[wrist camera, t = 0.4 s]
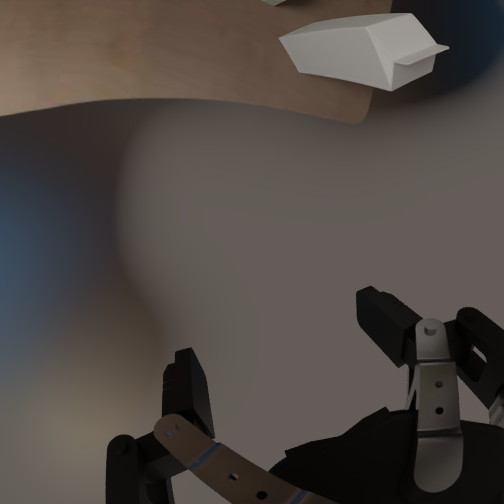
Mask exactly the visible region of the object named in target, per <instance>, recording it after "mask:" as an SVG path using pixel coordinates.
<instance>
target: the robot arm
mask: <svg viewBox="0 0 504 504" xmlns="http://www.w3.org/2000/svg"><path fill="white" fill-rule="evenodd" d="M356 307H357V320H358V323H359V325H360V327H361V328H362V329H363V330H364V331H365V333H366V334H367V335H368V336H369V337H370V338H371V339H372V340H373V341H374V342H375V343H376V344H377V345H378V347H380V349H381V350H382V351H383V352H384V353H385V354H386V355H387V356H388V357H389V358H390V360H391V361H392V362H393V363H394V364H395V365H396V366H397V367H398V368H399V367H401V366H402V365H404V364H407V365H408V366H409V367H408V378H407V395H406V405H405V409H404V410H396V411H391V412H389V410H388V409H387V408H386V407H384V408H382V409H380V410H378V411H377V412H375V413H373V414H371V415H369V416H367V417H365V418H363V419H362V420H361V421H359V422H358V423H357V424H356V425H354V426H353V427H352V428H350V429H349V430H348V431H347V432H345V433H344V434H343V435H341V436H338V437H333V438H327V439H322V440H317V441H311V442H308V443H305V444H303V445H300V446H298V447H294V448H291V449H289V450H285V454H286V458H284V459H282V460H281V461H279V462H278V463H277V464H275V465H274V466H273V467H272V468H271V469H270V470H269V471H268V472H267V471H265V470H264V469H262V468H260V467H258V466H257V465H255V464H253V463H252V462H250V461H249V460H247V459H245V458H244V457H242V456H241V455H239V454H238V453H236V452H234V451H233V450H231V449H230V448H228V447H227V446H225V445H224V444H222V443H216V442H215V441H213V440H212V439H214V438H215V433H214V427H213V421H212V414H211V407H210V401H209V394H208V386H207V380H206V376H205V373H204V371H203V369H202V367H201V365H200V363H199V361H198V359H197V357H196V355H195V353H194V351H193V349H192V348H191V347H190V348H186V349H183V350H179V351H176V352H175V363H172V364H168V366H167V367H166V369H165V371H164V374H163V394H162V418H160V419H159V420H158V421H157V423H156V424H155V426H154V430H153V431H152V432H151V433H149V434H146V435H144V436H142V437H140V438H138V439H134V438H133V437H132V436H130V435H119V436H116V437H115V438H113V439H112V440H111V442H110V443H109V445H108V447H107V460H106V504H175V502H174V497H173V490H172V483H171V477H172V476H174V475H176V474H179V473H181V472H183V471H186V470H188V469H189V470H190V471H191V472H192V473H193V474H194V475H196V476H197V477H198V478H199V479H200V480H202V481H203V482H204V483H205V484H206V485H208V486H209V487H210V488H212V489H213V490H214V491H215V492H217V493H218V494H219V495H221V496H222V497H224V498H225V499H226V500H228V501H229V502H230V503H232V504H504V330H503V329H502V328H501V327H499V326H498V325H497V324H496V323H494V322H493V321H492V320H491V319H489V318H488V317H487V316H485V315H484V314H483V313H481V312H480V311H479V310H477V309H475V308H472V307H465V308H462V309H460V310H459V311H458V313H457V317H456V319H455V320H452V321H449V322H445V323H442V322H441V321H439V320H437V319H434V318H426V319H423V318H422V317H420V316H419V315H418V314H416V313H415V312H414V311H412V310H411V309H410V308H409V307H408V306H406V305H404V303H402V302H401V301H399V300H398V299H397V298H396V297H395V296H393V295H392V294H389V293H386V292H379V291H378V290H376V289H375V288H374V287H372V286H369V287H366V288H364V289H362V290H359V291H357V293H356ZM474 346H475V347H476V348H477V349H478V350H479V351H480V352H482V353H483V354H484V356H485V357H486V361H487V363H486V362H485V361H484V360H483V359H482V358H481V357H479V356H478V354H476V353H475V352H474V351H473V348H474ZM457 375H458V376H459V377H460V379H461V380H463V382H464V383H465V384H466V385H467V386H468V387H469V388H470V390H472V392H473V393H474V394H475V395H476V396H477V397H478V399H480V401H481V402H482V403H483V404H484V405H485V407H486V408H487V409H488V410H489V418H490V422H489V424H484V423H477V422H470V421H465V420H460V409H459V393H458V382H457Z"/></svg>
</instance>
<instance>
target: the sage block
mask: <svg viewBox="0 0 504 504" xmlns="http://www.w3.org/2000/svg"><path fill="white" fill-rule="evenodd" d="M262 1H264V2H266V3H268V4H270V5H272V6H275V5H277V4H279V3H281V2H283V1H285V0H262Z"/></svg>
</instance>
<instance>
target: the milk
mask: <svg viewBox="0 0 504 504" xmlns="http://www.w3.org/2000/svg"><path fill="white" fill-rule="evenodd" d="M279 40H280V41H281V43H282V45H283V46H284V48H285V49H286V51H287V53H288V54H289V56H290V58H291V59H292V61H293V63H294V64H295V66H296V68H297V70H298V71H299V73H306V74H313V75H320V76H326V77H331V78H337V79H342V80H347V81H352V82H356V83H361V84H365V85H369V86H373V87H377V88H380V89H384V90H388V91H393V90H395V89H397V88H399V87H401V86H403V85H405V84H407V83H409V82H411V81H413V80H415V79H417V78H419V77H421V76H423V75H425V74H427V73H430V72H431V71H432V69H433V65H434V60H435V55H436V53H439V52H442V51H444V50H447V49H449V47H447V46H443V45H438V44H436V42H435V41H434V40H433V38H432V37H431V36H430V35H429V33H428V32H427V31H426V30H425V28H424V27H423V26H422V25H421V24H420V22H419V21H418V20H417V19H416V18H415V17H414V16H413V15H412V14H411V13H410V14H408V13H405V14H404V13H402V14H401V13H400V14H375V15H363V16H354V17H346V18H338V19H332V20H326V21H320V22H315V23H312V24H309V25H307V26H304V27H302V28H300V29H297V30H295V31H293V32H290V33H288V34H286V35H284V36H282V37H280V38H279Z"/></svg>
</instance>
